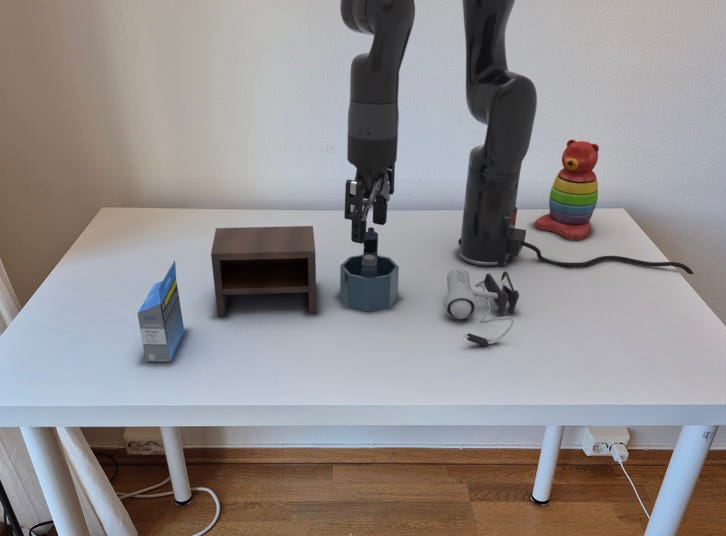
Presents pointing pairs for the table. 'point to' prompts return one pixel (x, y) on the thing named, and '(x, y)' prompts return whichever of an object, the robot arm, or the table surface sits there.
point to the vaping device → (370, 254)
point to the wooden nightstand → (263, 262)
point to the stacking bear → (573, 193)
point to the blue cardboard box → (161, 319)
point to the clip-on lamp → (463, 298)
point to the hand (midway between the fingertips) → (369, 232)
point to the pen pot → (369, 284)
